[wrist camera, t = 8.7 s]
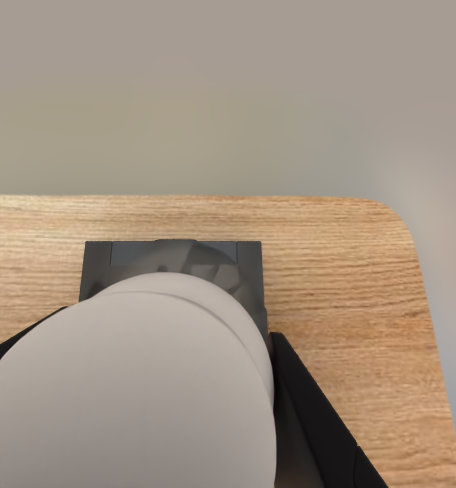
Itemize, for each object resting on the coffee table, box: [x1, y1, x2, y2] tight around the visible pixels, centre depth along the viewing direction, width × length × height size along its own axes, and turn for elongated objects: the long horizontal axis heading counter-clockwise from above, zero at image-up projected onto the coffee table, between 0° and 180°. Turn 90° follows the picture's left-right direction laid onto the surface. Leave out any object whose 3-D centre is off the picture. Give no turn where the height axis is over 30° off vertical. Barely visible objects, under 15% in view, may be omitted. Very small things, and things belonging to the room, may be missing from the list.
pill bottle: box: [0, 272, 276, 488], centre depth 9 cm, size 6×6×11 cm
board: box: [79, 239, 268, 344], centre depth 18 cm, size 13×16×2 cm
